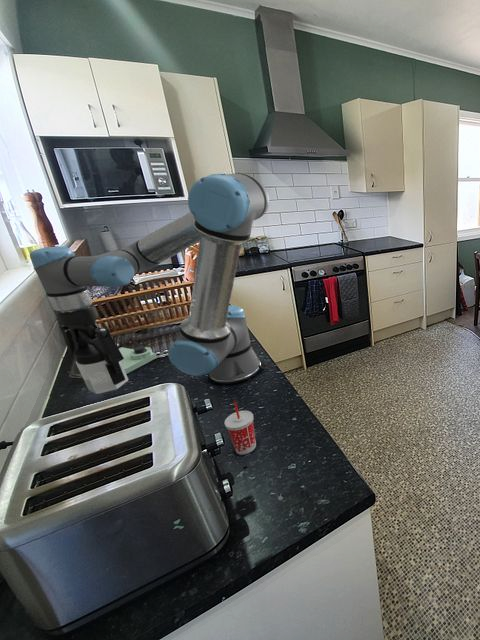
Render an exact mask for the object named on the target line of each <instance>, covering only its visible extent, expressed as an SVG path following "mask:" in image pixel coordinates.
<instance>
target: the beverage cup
mask: <svg viewBox="0 0 480 640" xmlns="http://www.w3.org/2000/svg"><path fill="white" fill-rule="evenodd" d="M233 405H234V409H235V412H233V413H231V414H229V415H228V416H227V417H226V418H225V420H224V426H225V428H226V429H227V432H228V435H229V436H230V439H231V442H232V446H233V448H234V450H235V452H236V454H238V455H247V454H249V453H251V452H253V451H254V450H255V449H256V447H257V441H256V432H255V427H254V426H255V425H254V414H253V413H252V411H249V410H239V408H238V404H237V401H236V400H234V401H233Z"/></svg>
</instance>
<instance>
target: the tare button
mask: <svg viewBox="0 0 480 640" xmlns="http://www.w3.org/2000/svg"><path fill="white" fill-rule="evenodd" d="M133 349H134V351H135V354H141V353H144V352H146V349H145V346H144V345H138V346H136V347H134V348H133Z"/></svg>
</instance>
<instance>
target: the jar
mask: <svg viewBox="0 0 480 640" xmlns="http://www.w3.org/2000/svg"><path fill="white" fill-rule="evenodd" d="M74 351H75V350H74ZM73 357H74V359H75V365H76V366H77V369H78V371H79V373H80V375H81V377H82V379H83V382H84V384H85V385H86V388H87V390H88V391H90V392H92V393H93V394H95V395H98V394H103V393H108V392H113V391H116V390H118V389H120V388H121V387H122V386H123V385H125V384H126V383H127V382H129V377H128V375H127V374H126V372H125V370H124V368H123V365H122V363H121V361H119V364H120V367H121V369H122V372H123V375H124V377H125V380H124V381H122V382H120V383H119V384H117V385H114V384H113V381H112V379H111V377H110V375H109V372H108V370H107V368H106V366H105V365H106V364H107V362H106V361H105V360H104V359H103V358H102V356H101V355H100V353H98V351H97V350H96V349H95V348H94V346H93V345H90V344H88V346H86V347H83V348H81V349H79V350H77V351H75V352H74V356H73Z"/></svg>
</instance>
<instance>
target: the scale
mask: <svg viewBox="0 0 480 640" xmlns="http://www.w3.org/2000/svg"><path fill="white" fill-rule="evenodd" d="M118 349H119V351H120V352H121V354H122V356H123V357H124V359H123V360H121V363H122V365H123V368H124V370H125V372H126V375H127V374H129V373H131V372H133V371H135V370H137V369H139V368H141V367H142V366H144V365H146V364H148V363H150V362H152V361H154V360H155V359H157V358H158V356H157V353H156V352H153V350H152V348H151V347H149V346H146V347H145V349H146V352H144V353H141V354H135V351H134V348H128V347H118Z"/></svg>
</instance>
